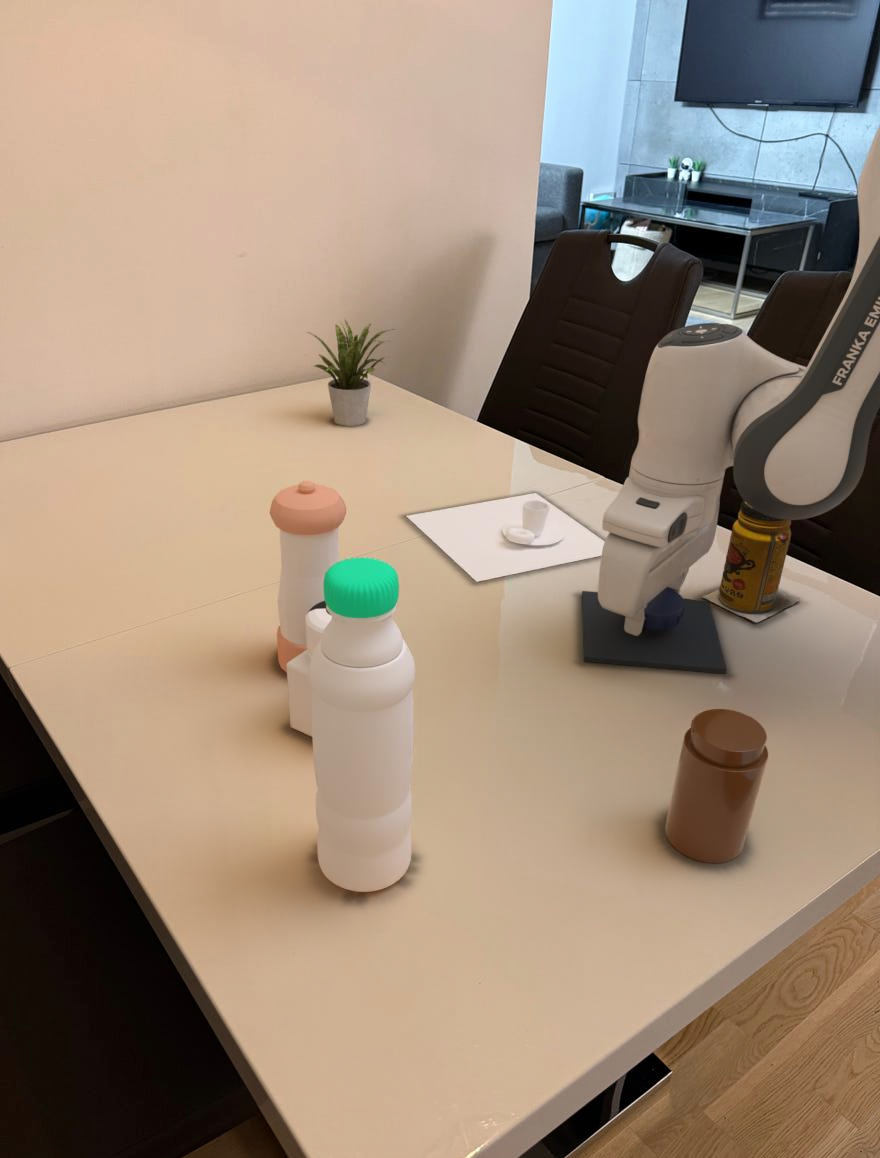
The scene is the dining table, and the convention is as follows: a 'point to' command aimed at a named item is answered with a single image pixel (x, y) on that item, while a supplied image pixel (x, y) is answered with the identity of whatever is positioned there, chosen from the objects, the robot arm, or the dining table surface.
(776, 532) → the condiment
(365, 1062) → the dining table surface
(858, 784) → the dining table surface
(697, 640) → the mat
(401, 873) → the water bottle
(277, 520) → the pepper shaker
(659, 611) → the lid
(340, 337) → the house plant
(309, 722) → the medicine bottle
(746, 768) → the jar
